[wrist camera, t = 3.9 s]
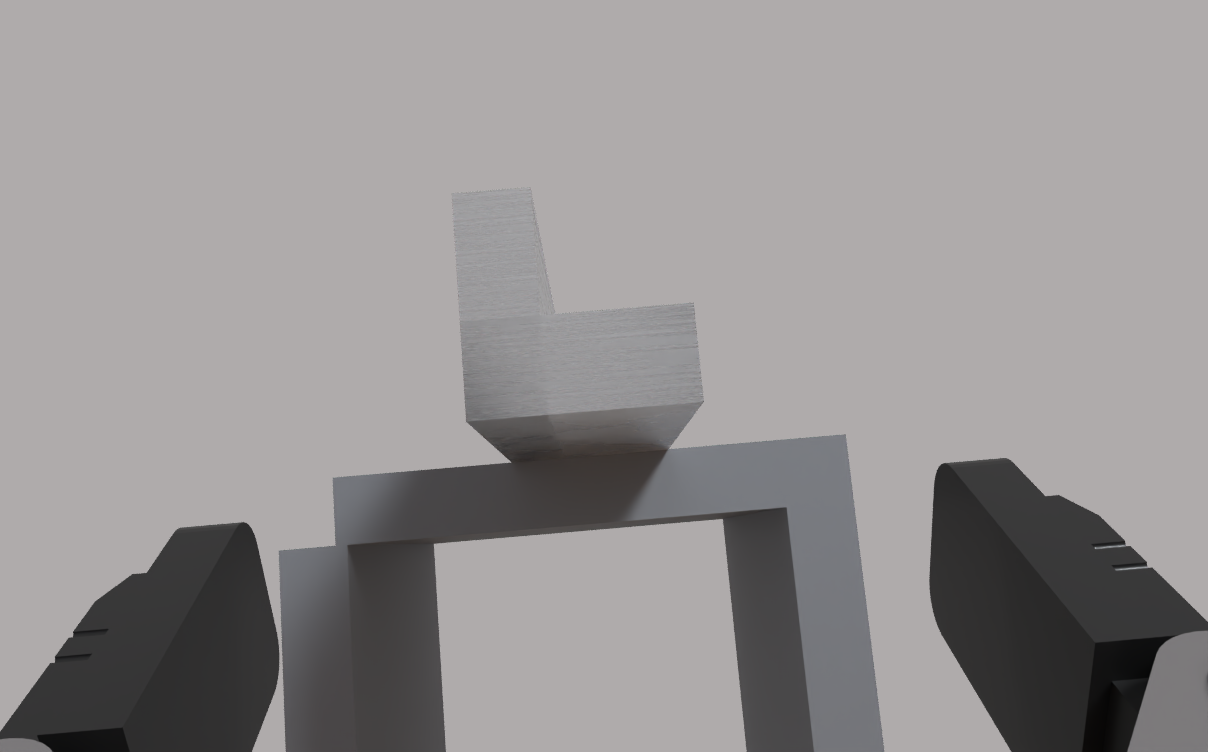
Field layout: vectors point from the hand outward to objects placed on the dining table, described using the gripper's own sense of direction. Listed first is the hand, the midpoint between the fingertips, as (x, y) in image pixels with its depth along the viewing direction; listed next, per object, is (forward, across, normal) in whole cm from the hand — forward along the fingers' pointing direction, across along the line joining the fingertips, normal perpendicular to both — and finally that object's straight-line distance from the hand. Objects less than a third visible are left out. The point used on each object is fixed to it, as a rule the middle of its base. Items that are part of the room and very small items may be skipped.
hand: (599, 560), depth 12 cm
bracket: (+12, 0, +5) cm, 13 cm away
